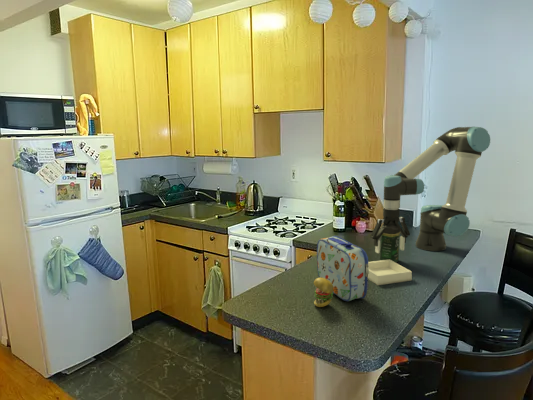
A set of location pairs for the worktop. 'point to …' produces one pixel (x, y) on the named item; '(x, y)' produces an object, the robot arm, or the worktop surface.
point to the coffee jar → (390, 243)
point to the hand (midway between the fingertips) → (389, 251)
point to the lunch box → (343, 267)
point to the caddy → (387, 272)
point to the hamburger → (323, 292)
